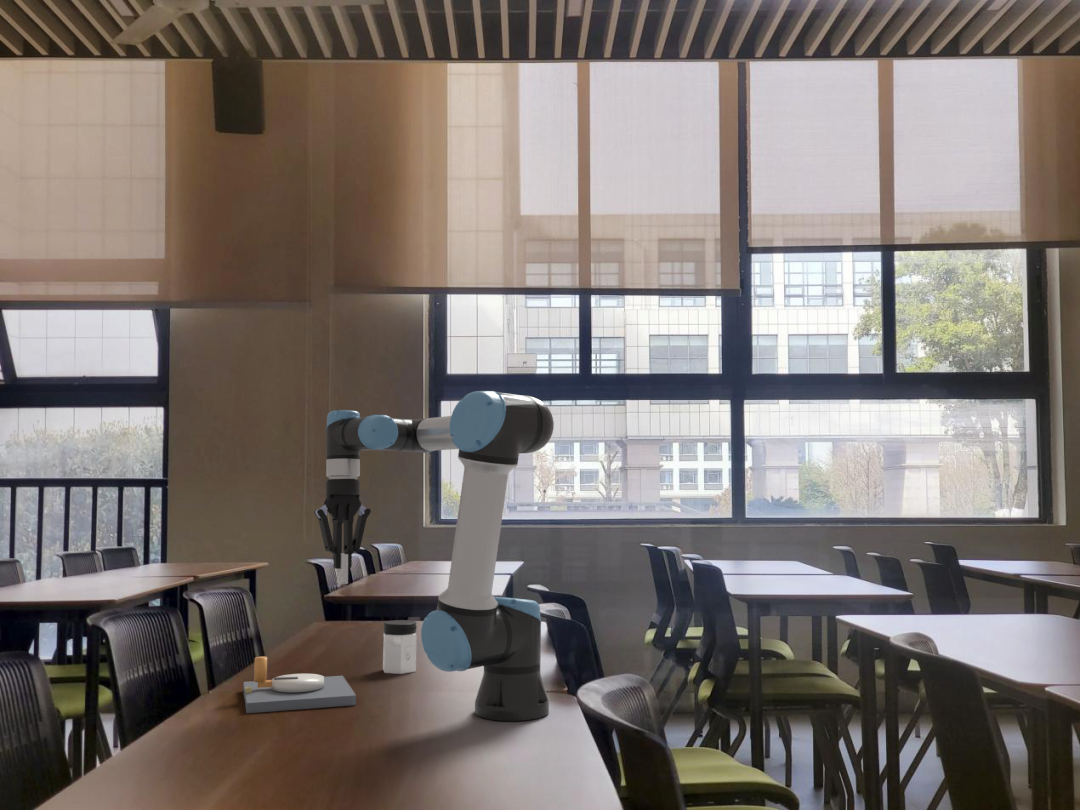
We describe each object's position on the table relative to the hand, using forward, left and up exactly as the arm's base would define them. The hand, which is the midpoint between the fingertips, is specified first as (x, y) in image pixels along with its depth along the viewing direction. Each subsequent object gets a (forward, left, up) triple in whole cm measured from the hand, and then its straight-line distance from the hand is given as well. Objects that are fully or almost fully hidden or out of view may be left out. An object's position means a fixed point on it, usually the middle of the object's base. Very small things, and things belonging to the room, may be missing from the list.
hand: (342, 583), depth 205 cm
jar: (+22, -17, -24) cm, 37 cm away
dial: (-1, +11, -22) cm, 25 cm away
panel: (-1, +9, -24) cm, 26 cm away
